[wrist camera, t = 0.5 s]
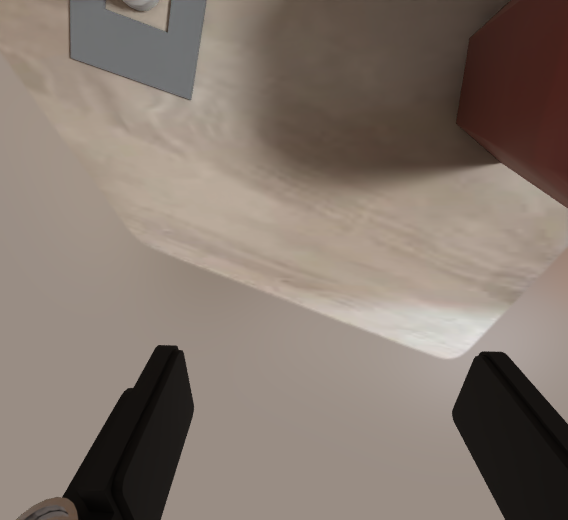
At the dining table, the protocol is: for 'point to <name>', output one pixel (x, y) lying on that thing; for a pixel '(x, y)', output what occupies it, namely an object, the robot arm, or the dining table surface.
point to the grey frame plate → (140, 44)
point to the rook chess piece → (141, 4)
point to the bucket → (521, 92)
